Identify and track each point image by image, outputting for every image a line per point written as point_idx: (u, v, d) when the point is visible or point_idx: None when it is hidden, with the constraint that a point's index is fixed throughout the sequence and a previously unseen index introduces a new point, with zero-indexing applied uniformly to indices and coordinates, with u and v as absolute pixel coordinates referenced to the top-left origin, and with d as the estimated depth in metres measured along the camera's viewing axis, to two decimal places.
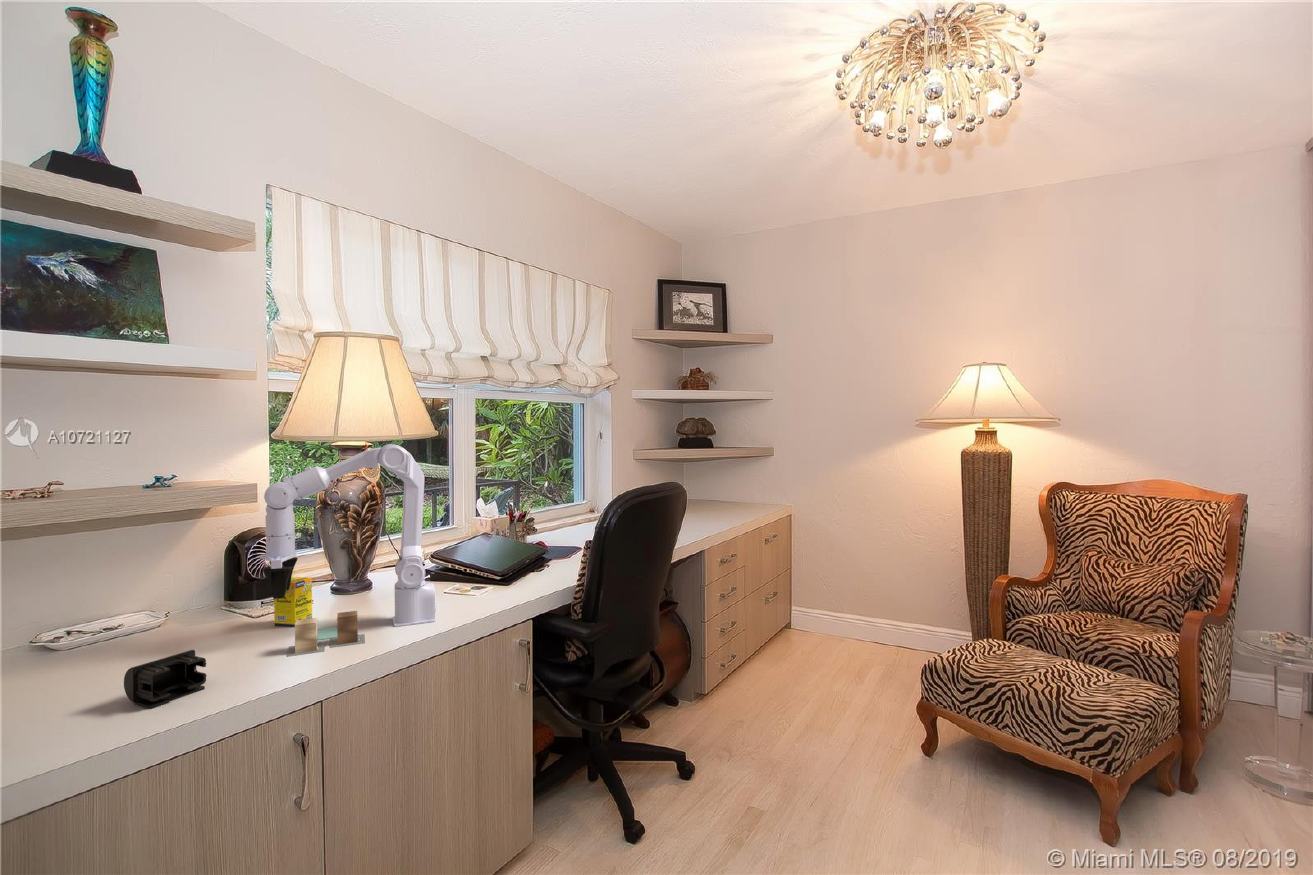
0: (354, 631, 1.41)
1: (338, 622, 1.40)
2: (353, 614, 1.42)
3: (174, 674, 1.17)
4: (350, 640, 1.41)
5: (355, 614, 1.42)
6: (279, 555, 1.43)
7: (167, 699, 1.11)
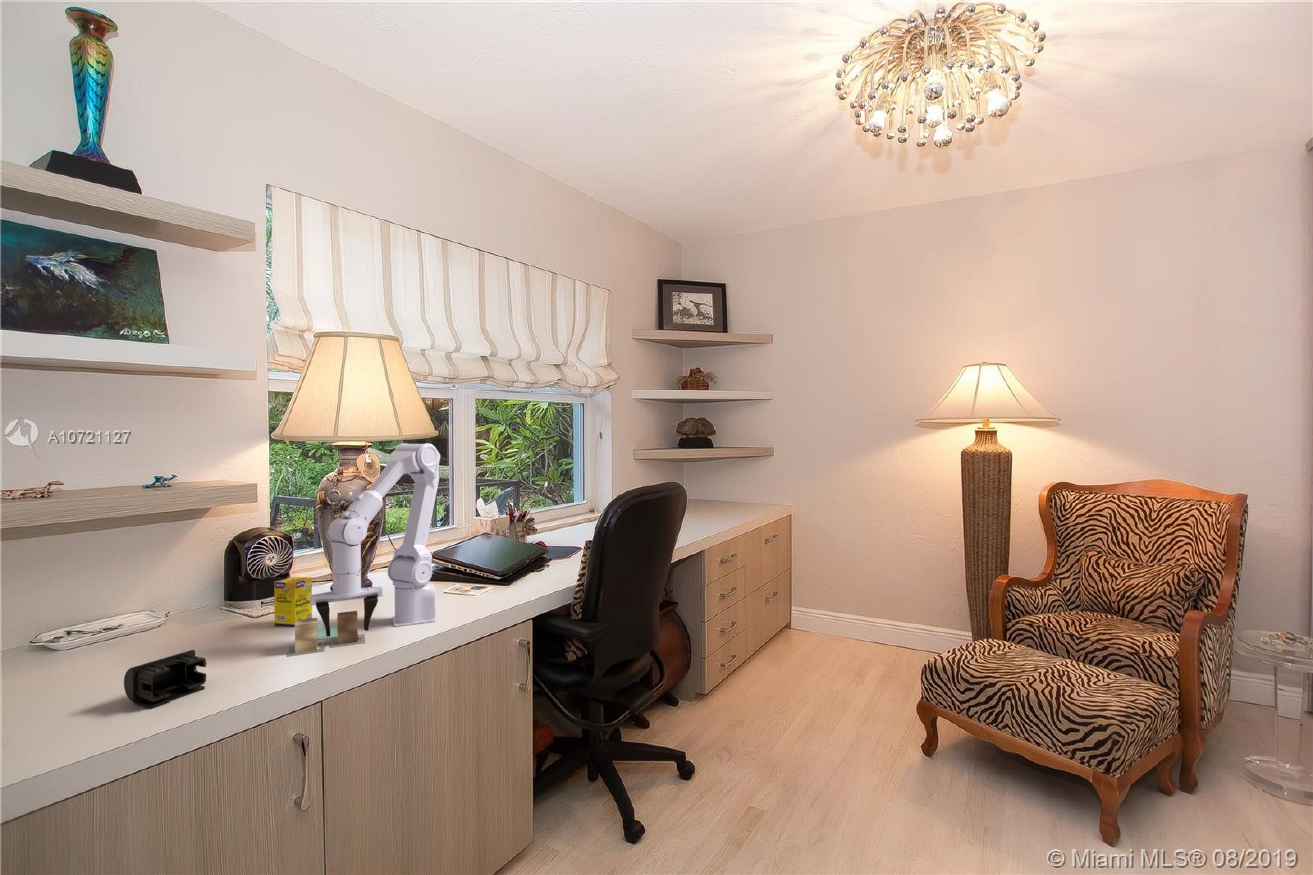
0: (354, 631, 1.41)
1: (338, 622, 1.40)
2: (353, 614, 1.42)
3: (174, 674, 1.17)
4: (350, 640, 1.41)
5: (355, 614, 1.42)
6: (332, 593, 1.41)
7: (167, 699, 1.11)
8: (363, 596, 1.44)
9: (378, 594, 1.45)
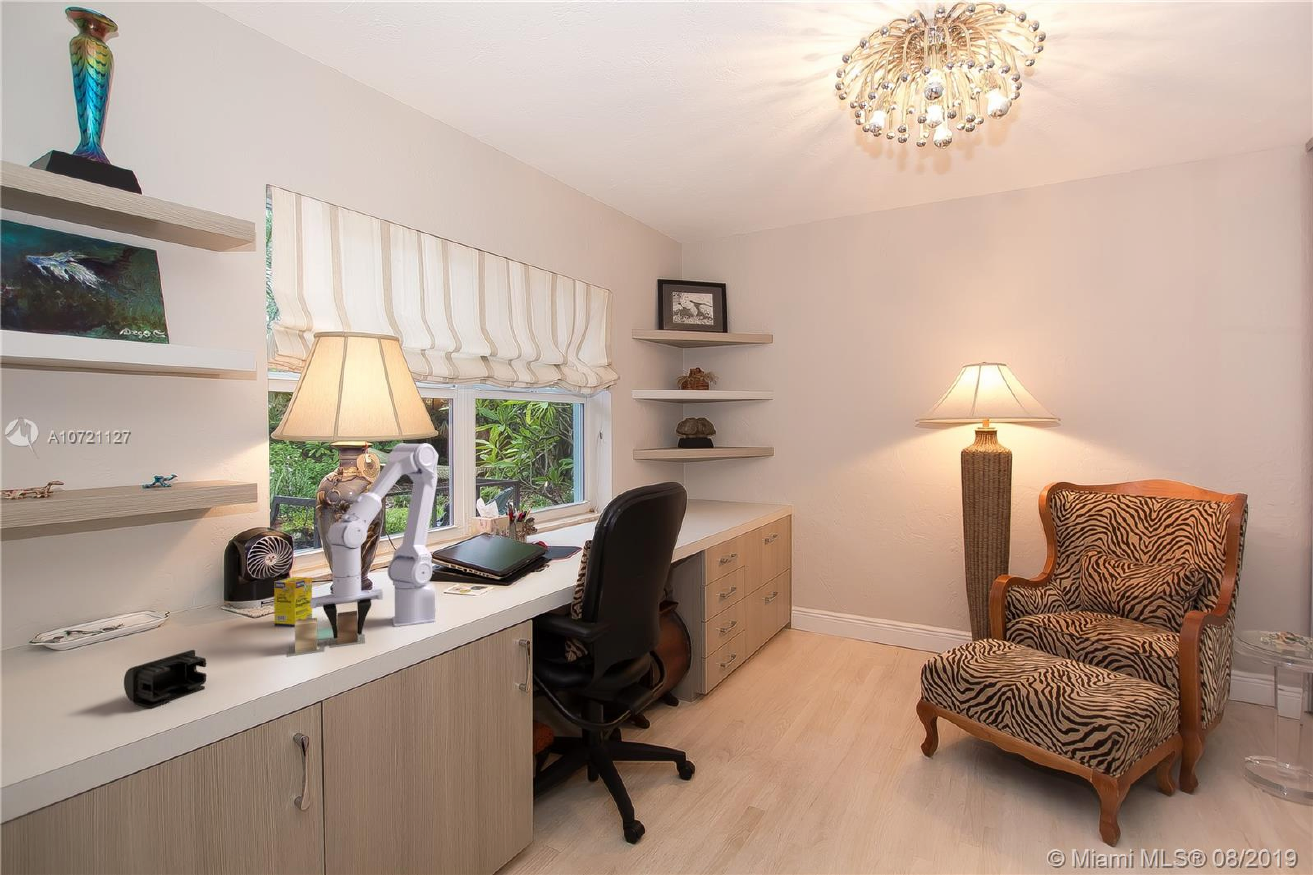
0: (354, 631, 1.41)
1: (338, 622, 1.40)
2: (353, 614, 1.42)
3: (174, 674, 1.17)
4: (350, 640, 1.41)
5: (355, 614, 1.42)
6: (333, 596, 1.41)
7: (167, 699, 1.11)
8: (363, 599, 1.44)
9: (378, 597, 1.45)
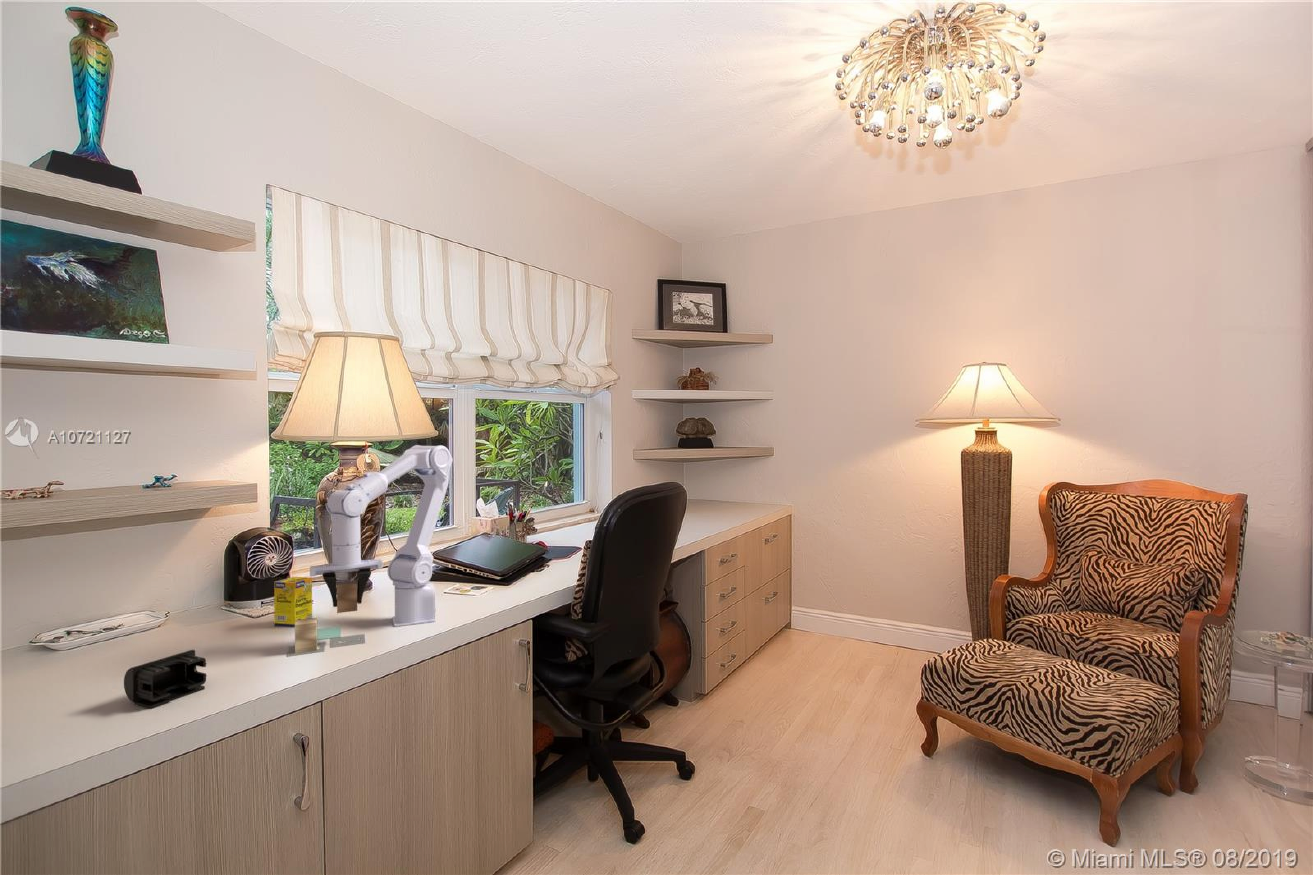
0: (354, 599, 1.41)
1: (337, 591, 1.40)
2: (353, 583, 1.42)
3: (174, 674, 1.17)
4: (350, 609, 1.41)
5: (355, 583, 1.42)
6: (332, 564, 1.41)
7: (167, 699, 1.11)
8: (363, 568, 1.44)
9: (378, 566, 1.45)
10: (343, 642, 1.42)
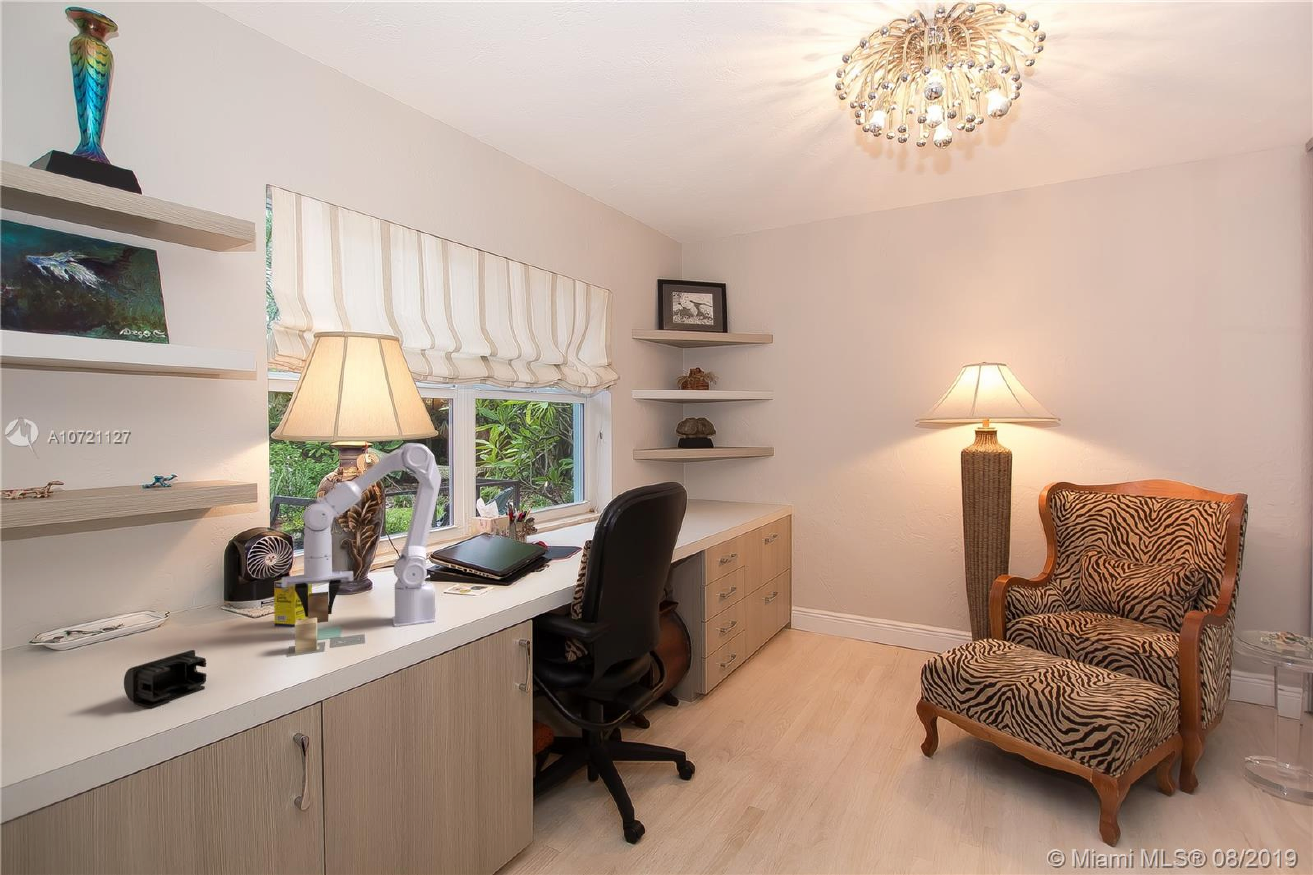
0: (325, 611, 1.46)
1: (309, 603, 1.44)
2: (324, 595, 1.46)
3: (174, 674, 1.17)
4: (321, 620, 1.45)
5: (326, 595, 1.46)
6: (304, 575, 1.46)
7: (167, 699, 1.11)
8: (334, 580, 1.48)
9: (348, 578, 1.49)
10: (343, 642, 1.42)
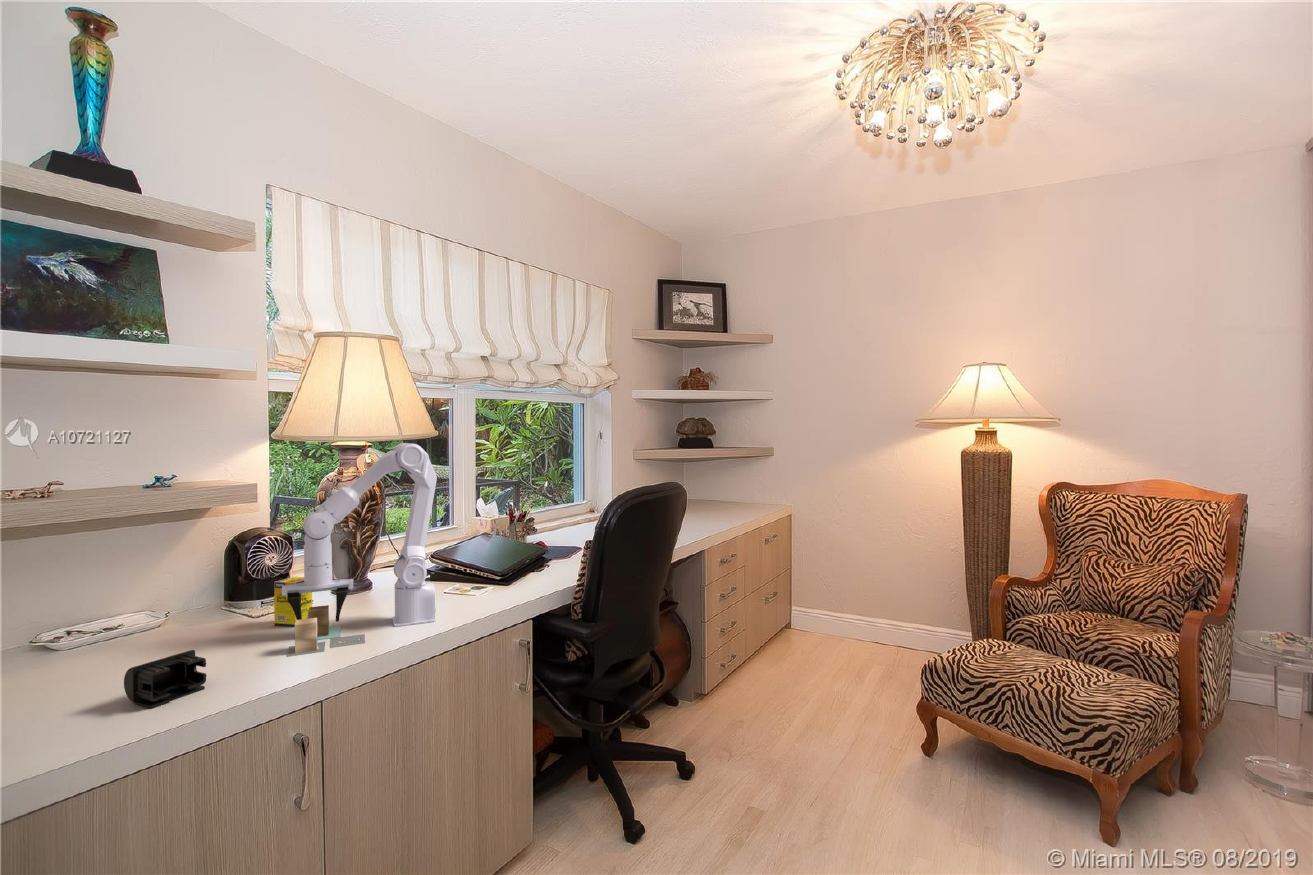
0: (325, 624, 1.46)
1: (309, 616, 1.44)
2: (324, 608, 1.46)
3: (174, 674, 1.17)
4: (321, 633, 1.45)
5: (326, 608, 1.46)
6: (304, 584, 1.46)
7: (167, 699, 1.11)
8: (334, 588, 1.48)
9: (349, 586, 1.49)
10: (343, 642, 1.42)
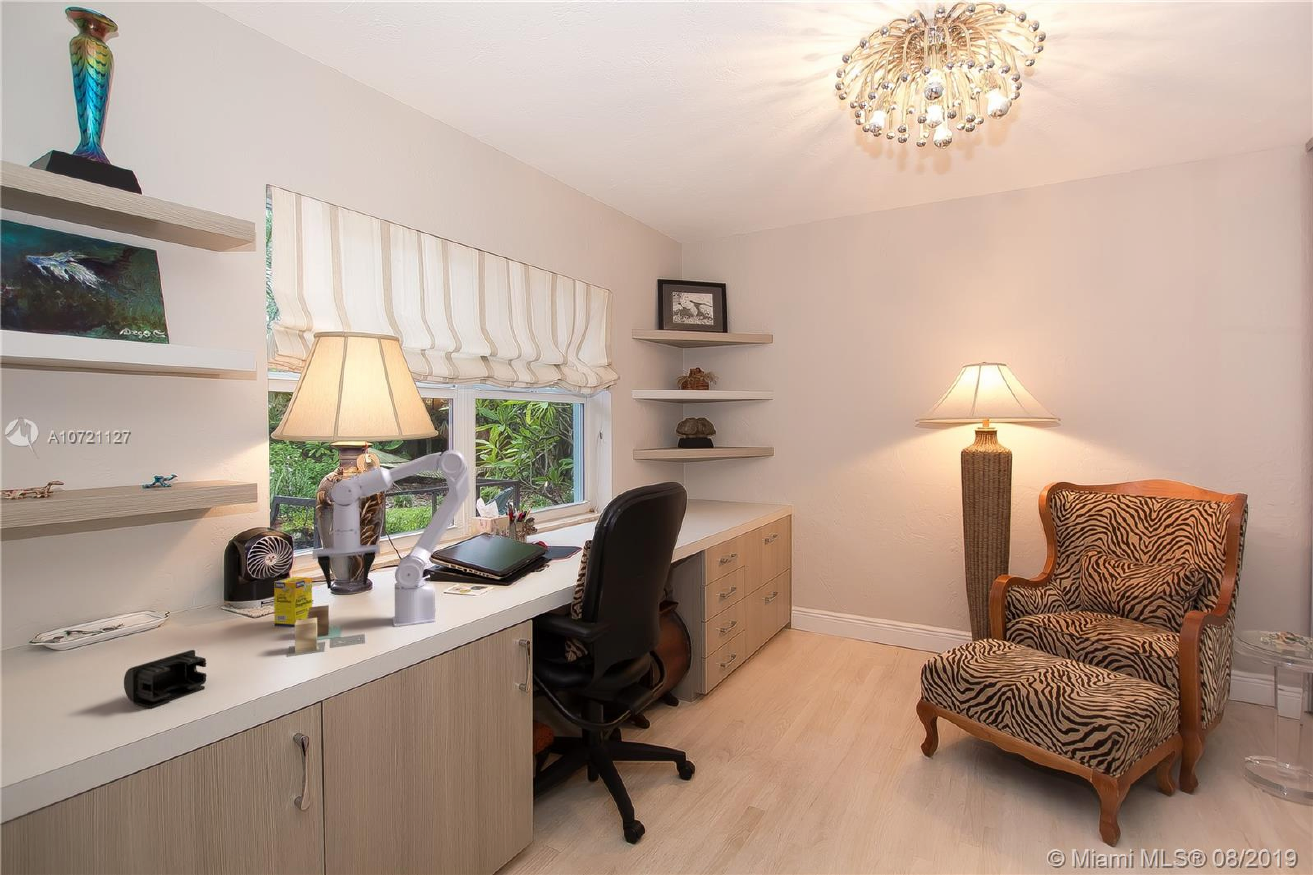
0: (325, 624, 1.46)
1: (309, 616, 1.44)
2: (324, 608, 1.46)
3: (174, 674, 1.17)
4: (321, 633, 1.45)
5: (326, 608, 1.46)
6: (333, 548, 1.52)
7: (167, 699, 1.11)
8: (362, 553, 1.54)
9: (376, 551, 1.55)
10: (343, 642, 1.42)
